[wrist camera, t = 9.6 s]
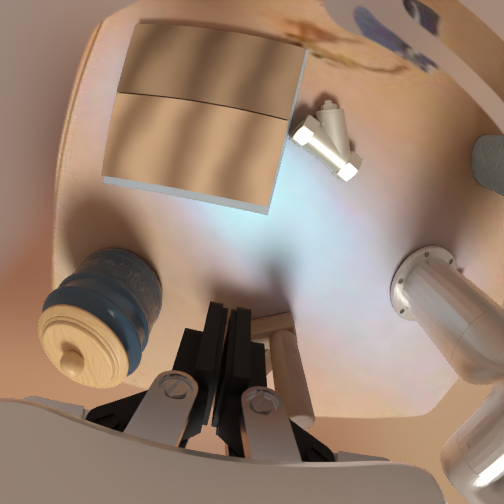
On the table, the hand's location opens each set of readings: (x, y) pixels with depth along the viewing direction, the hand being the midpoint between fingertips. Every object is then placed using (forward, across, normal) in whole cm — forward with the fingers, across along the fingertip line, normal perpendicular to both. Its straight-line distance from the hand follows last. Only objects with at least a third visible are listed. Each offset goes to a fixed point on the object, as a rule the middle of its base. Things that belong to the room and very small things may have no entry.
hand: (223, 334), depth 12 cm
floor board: (+25, +7, -15) cm, 30 cm away
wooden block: (+26, -6, +17) cm, 32 cm away
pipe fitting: (+26, -8, -10) cm, 29 cm away
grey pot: (+27, -35, -17) cm, 47 cm away
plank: (+24, +7, -6) cm, 26 cm away
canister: (+25, +14, +15) cm, 33 cm away
